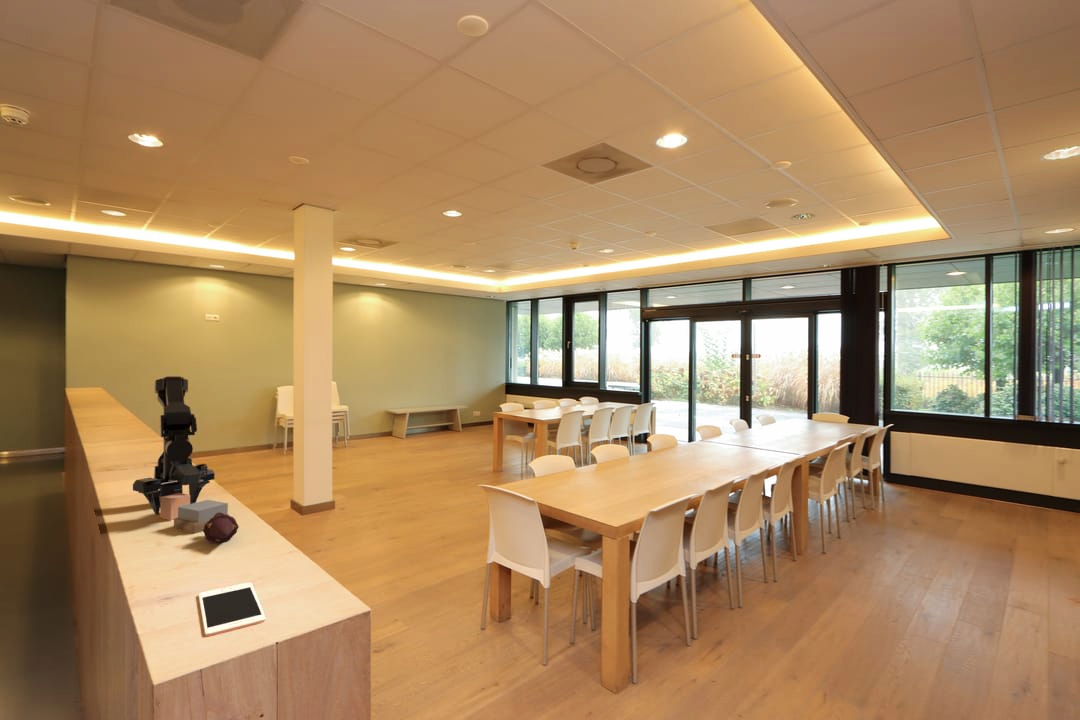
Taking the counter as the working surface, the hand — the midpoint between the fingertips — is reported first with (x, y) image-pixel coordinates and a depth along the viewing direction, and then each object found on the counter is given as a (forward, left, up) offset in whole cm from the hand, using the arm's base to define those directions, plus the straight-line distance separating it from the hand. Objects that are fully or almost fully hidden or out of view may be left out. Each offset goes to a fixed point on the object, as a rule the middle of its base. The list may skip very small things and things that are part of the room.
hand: (175, 510), depth 145 cm
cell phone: (+64, -26, -2) cm, 69 cm away
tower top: (+14, -1, +1) cm, 14 cm away
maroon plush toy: (+30, -6, -2) cm, 30 cm away
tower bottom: (+14, -1, -2) cm, 14 cm away
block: (0, 0, -2) cm, 2 cm away
